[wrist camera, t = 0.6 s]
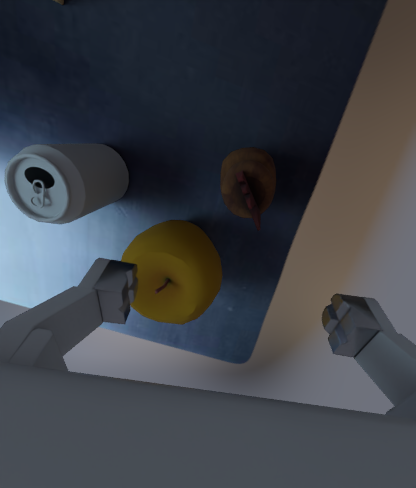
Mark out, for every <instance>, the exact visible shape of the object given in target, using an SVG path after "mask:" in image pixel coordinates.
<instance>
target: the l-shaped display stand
mask: <svg viewBox="0 0 416 488" xmlns="http://www.w3.org/2000/svg"><path fill="white" fill-rule="evenodd" d="M54 1H56V2H58V3H59V4H61V5H63V3H64V0H54Z"/></svg>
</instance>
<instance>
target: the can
mask: <svg viewBox="0 0 416 488" xmlns="http://www.w3.org/2000/svg"><path fill="white" fill-rule="evenodd" d="M128 183H129V174H128V170H127V167H126V164H125V162H124V161H123V159H122V158H121V156H120V155H119V154H118V153H117V152H116V151H115V150H113V149H112V148H110V147H108V146H106V145H104V144H38V145H32V146H29V147H26V148H24V149H23V150H22V151H21V152H20V153H18V154H17V155H15V156H14V157H13V158H12V159H11V160H10V161H9V162H8V164H7V167H6V169H5V185H6V189H7V192H8V194H9V196H10V198H11V200H12V202H13V203H14V204H15V205H16V206H17V208H18V209H19V210H20V211H21V212H23V213H24V214H25V215H27V216H28V217H29V218H32V219H34V220H36V221H39V222H46V223H54V224H64V223H69V222H72V221H74V220H76V219H78V218H81V217H83V216H85V215H87V214H89V213H91V212H94V211H96V210H98V209H100V208H102V207H104V206H107V205H109V204H111V203H113V202H115V201H117V200H118V199H120V198H121V197H122V196H123V195H124V194H125V192H126V191H127V187H128Z"/></svg>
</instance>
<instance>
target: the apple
mask: <svg viewBox="0 0 416 488" xmlns="http://www.w3.org/2000/svg"><path fill="white" fill-rule="evenodd" d="M121 261H122V262H128V263H134V264H137V268H138V272H137V274H136V277H137V278H138V290H137V294H136V297H135V300H134V302H132V303H131V304H130V305H131V307H132V308H134V309H135V310H136V311H137V312H139V313H140V314H141V315H142V316H144V317H147V318H149V319H152V320H155V321H158V322H165V323H173V324H185V323H187V322H190V321H192V320H195V319H197V318H198V317H199V316H200V315H202V314H203V313H204V311H205V310H206V309H207V308H208V307H209V306H210V305H211V304H212V302H213V300H214V298H215V297H216V295H217V293H218V292H219V290H220V286H221V281H222V267H221V261H220V257H219V254H218V252H217V251H216V249H215V247H214V245H213V244H212V242H211V240H210V239H209V238H208V236H207V235H206V234H205V233H204V231H203V230H202V229H200V228H199V227H198V226H197V225H194V224H192V223H190V222H187V221H183V220H169V221H166V222H162V223H159V224H157V225H154V226H152V227H151V228H149V229H147V230H146V231H144V232H142V233H141V234H139V235H137V236H136V237H135V239H134V240H133V241H132V242H131V243H130V245H129V246H128V248H127V249H126V250H125V252H124V253H123V256H122V259H121Z"/></svg>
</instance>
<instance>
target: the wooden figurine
mask: <svg viewBox="0 0 416 488" xmlns="http://www.w3.org/2000/svg"><path fill="white" fill-rule="evenodd" d="M220 185H221V193H222V197H223V200H224V203H225V205H226V206H227V208H228V209H229V210H230V211H231V212H232V213H233V214H234V215H237V216H240V217H242V218H253V220H254V222H255V225H256V228H257V230H260V214H262V213H263V212H264V211H265V210H266V209H267V208H268V207H269V205H270V204H271V202H272V200H273V197H274V193H275V187H276V170H275V166H274V162H273V158H272V157H271V156H270V155H269V154H268V153H267V152H265V151H264V150H261V149H258V148H254V147H250V148H241V149H238V150H235V151H232V152H231V153H230V154H229V155H228V156H227V157H226V158H225V159H224V160H223V163H222V169H221V182H220Z"/></svg>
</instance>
